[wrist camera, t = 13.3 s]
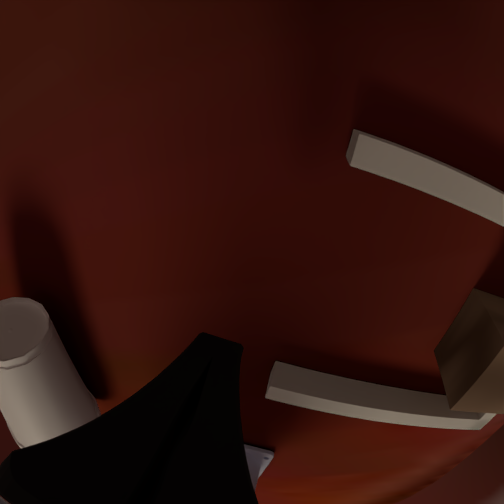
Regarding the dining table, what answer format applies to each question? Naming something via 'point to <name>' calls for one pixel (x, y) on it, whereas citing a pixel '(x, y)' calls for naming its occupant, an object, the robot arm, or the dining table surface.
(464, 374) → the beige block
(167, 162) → the dining table surface
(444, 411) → the bay
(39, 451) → the robot arm
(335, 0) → the dining table surface
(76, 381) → the foam cup
